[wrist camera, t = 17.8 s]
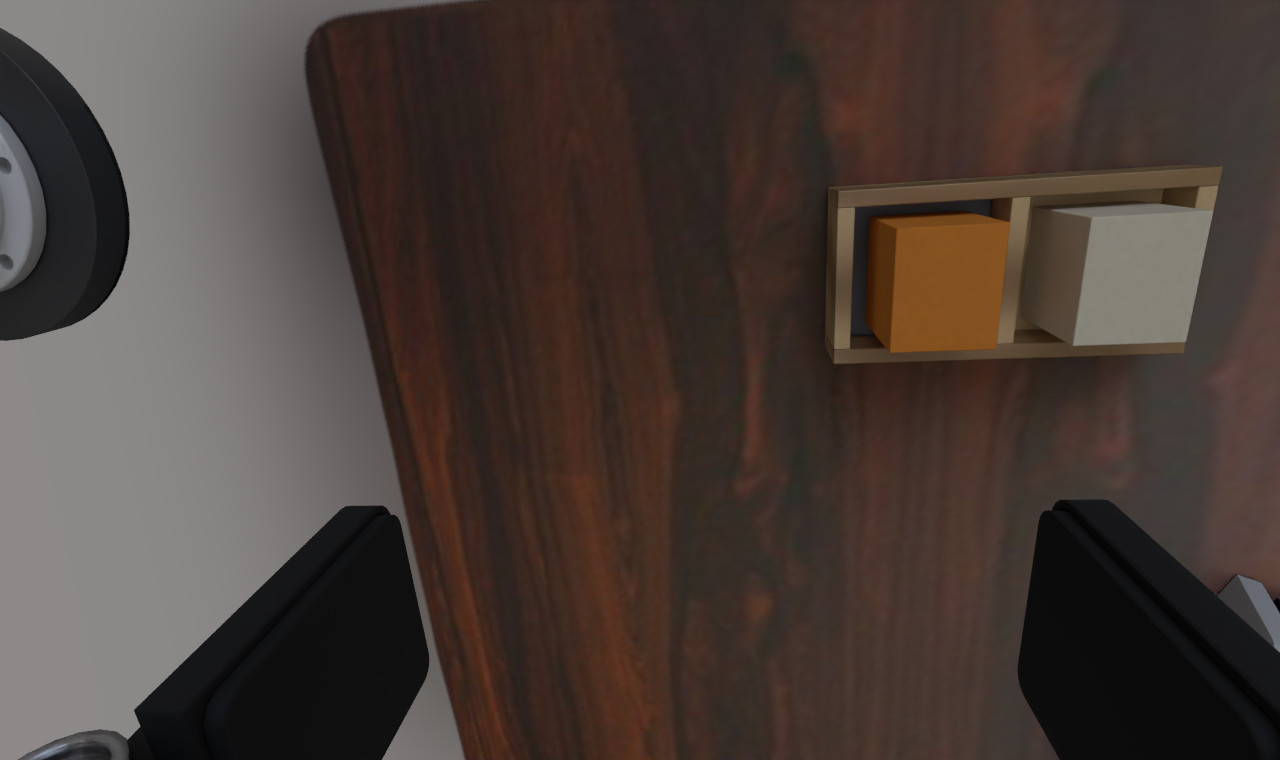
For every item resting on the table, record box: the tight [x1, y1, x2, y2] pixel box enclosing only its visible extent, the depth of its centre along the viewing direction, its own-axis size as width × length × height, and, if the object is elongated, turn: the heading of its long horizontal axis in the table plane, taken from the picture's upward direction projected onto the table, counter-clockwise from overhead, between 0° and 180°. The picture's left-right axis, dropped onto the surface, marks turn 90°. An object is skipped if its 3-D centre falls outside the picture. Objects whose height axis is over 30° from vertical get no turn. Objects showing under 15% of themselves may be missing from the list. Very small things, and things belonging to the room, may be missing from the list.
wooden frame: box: [825, 165, 1222, 364], centre depth 33 cm, size 9×16×3 cm, turn 94°
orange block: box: [865, 211, 1010, 353], centre depth 31 cm, size 6×5×6 cm
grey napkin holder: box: [1217, 575, 1280, 652], centre depth 37 cm, size 17×5×10 cm, turn 158°
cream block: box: [1020, 201, 1213, 346], centre depth 31 cm, size 6×5×6 cm
